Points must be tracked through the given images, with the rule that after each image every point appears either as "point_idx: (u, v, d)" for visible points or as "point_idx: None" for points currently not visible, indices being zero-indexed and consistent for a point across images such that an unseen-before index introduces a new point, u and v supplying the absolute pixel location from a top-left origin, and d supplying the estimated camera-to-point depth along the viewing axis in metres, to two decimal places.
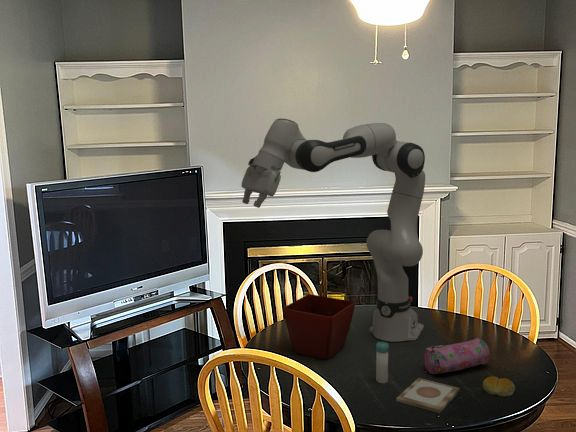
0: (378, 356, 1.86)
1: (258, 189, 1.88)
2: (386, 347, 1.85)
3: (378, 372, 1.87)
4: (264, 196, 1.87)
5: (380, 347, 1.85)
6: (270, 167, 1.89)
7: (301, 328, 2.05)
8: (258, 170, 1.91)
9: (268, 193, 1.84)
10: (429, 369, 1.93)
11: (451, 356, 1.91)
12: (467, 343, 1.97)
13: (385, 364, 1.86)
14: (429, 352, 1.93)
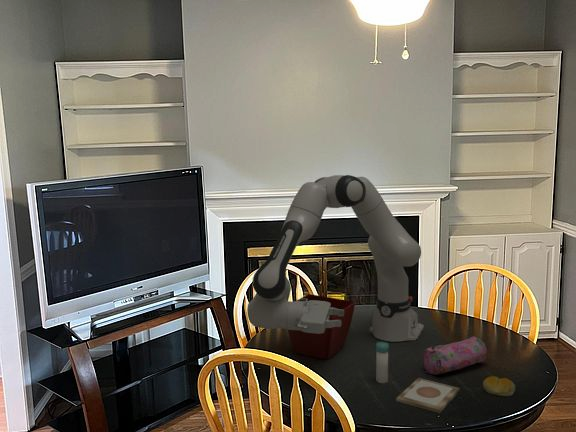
0: (378, 356, 1.86)
1: None
2: (386, 347, 1.85)
3: (378, 372, 1.87)
4: (327, 323, 1.82)
5: (380, 347, 1.85)
6: None
7: None
8: None
9: (322, 329, 1.79)
10: (430, 370, 1.93)
11: (452, 355, 1.92)
12: (465, 342, 1.98)
13: (385, 364, 1.86)
14: (429, 353, 1.93)
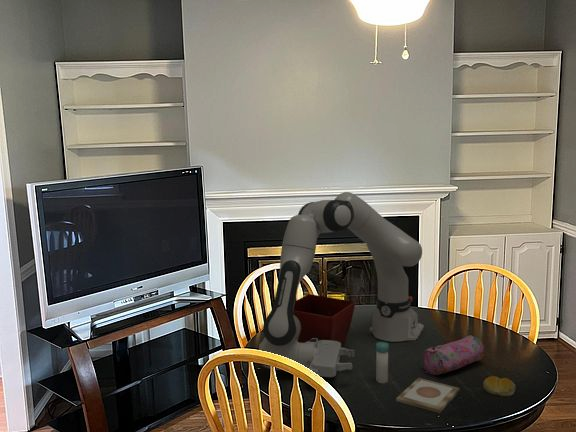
0: (378, 356, 1.86)
1: None
2: (386, 347, 1.85)
3: (378, 372, 1.87)
4: (338, 366, 1.84)
5: (380, 347, 1.85)
6: None
7: (301, 328, 2.05)
8: None
9: (334, 372, 1.81)
10: (430, 370, 1.92)
11: (452, 355, 1.92)
12: (462, 341, 1.99)
13: (385, 364, 1.86)
14: (430, 353, 1.92)
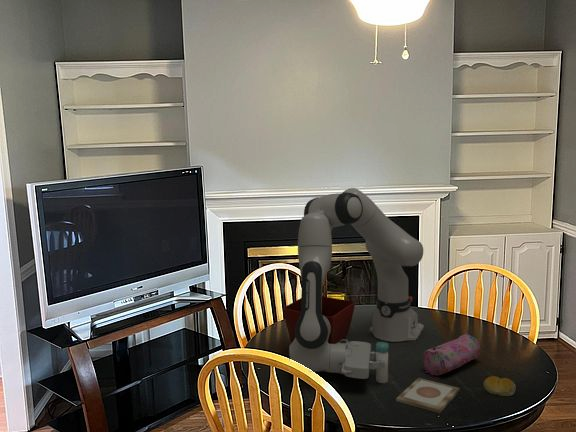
0: (378, 356, 1.86)
1: None
2: (386, 347, 1.85)
3: (378, 372, 1.87)
4: (371, 365, 1.84)
5: (380, 347, 1.85)
6: None
7: None
8: None
9: (367, 374, 1.79)
10: (431, 371, 1.92)
11: (452, 355, 1.92)
12: (459, 340, 1.99)
13: (385, 364, 1.86)
14: (431, 354, 1.92)
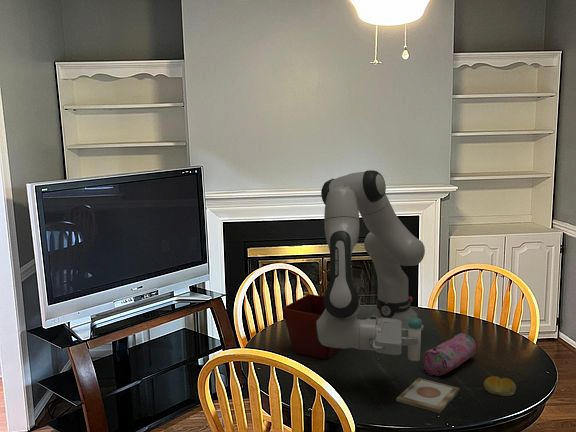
0: (410, 332, 1.77)
1: None
2: (419, 323, 1.76)
3: (410, 349, 1.77)
4: (404, 341, 1.74)
5: (413, 322, 1.75)
6: None
7: (301, 328, 2.05)
8: None
9: (400, 350, 1.69)
10: (433, 371, 1.92)
11: (452, 354, 1.92)
12: (457, 339, 2.00)
13: (418, 341, 1.76)
14: (432, 354, 1.91)
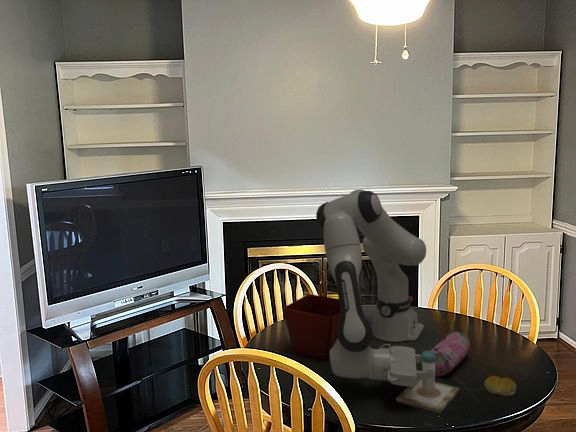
0: (424, 366, 1.75)
1: None
2: (433, 356, 1.74)
3: (425, 383, 1.76)
4: (419, 375, 1.71)
5: (427, 357, 1.74)
6: None
7: (301, 328, 2.05)
8: None
9: (415, 381, 1.68)
10: None
11: (452, 354, 1.93)
12: (452, 338, 2.01)
13: None
14: None
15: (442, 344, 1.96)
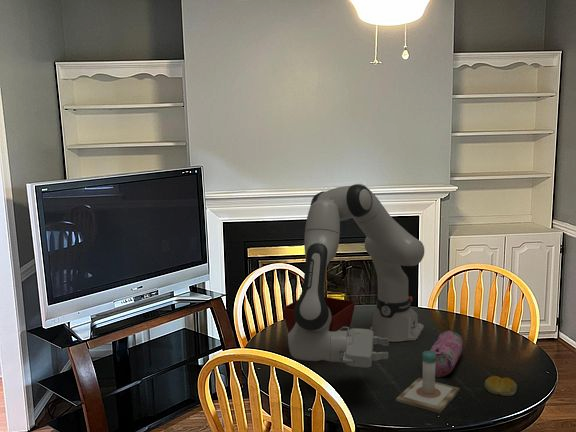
0: (425, 366, 1.75)
1: None
2: (434, 356, 1.74)
3: (425, 383, 1.76)
4: (374, 356, 1.72)
5: (427, 357, 1.74)
6: None
7: None
8: None
9: (370, 362, 1.70)
10: (436, 373, 1.91)
11: (452, 353, 1.93)
12: (447, 338, 2.02)
13: (432, 374, 1.75)
14: None
15: (440, 344, 1.97)
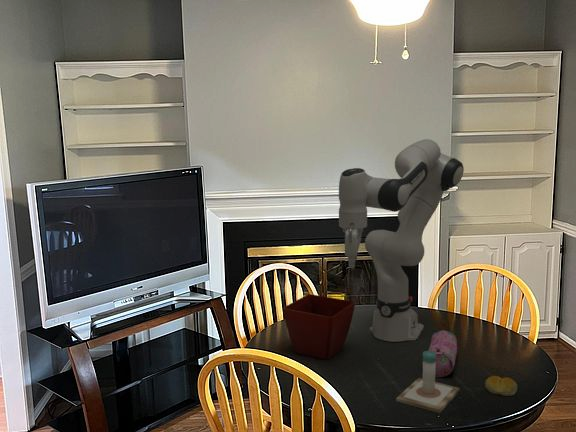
0: (425, 366, 1.75)
1: None
2: (434, 357, 1.74)
3: (425, 383, 1.76)
4: (352, 256, 1.85)
5: (427, 357, 1.74)
6: (349, 225, 1.86)
7: (301, 328, 2.05)
8: (343, 230, 1.89)
9: (349, 255, 1.82)
10: (438, 373, 1.90)
11: (451, 353, 1.94)
12: (443, 337, 2.02)
13: (432, 375, 1.75)
14: (436, 356, 1.90)
15: (438, 344, 1.97)
